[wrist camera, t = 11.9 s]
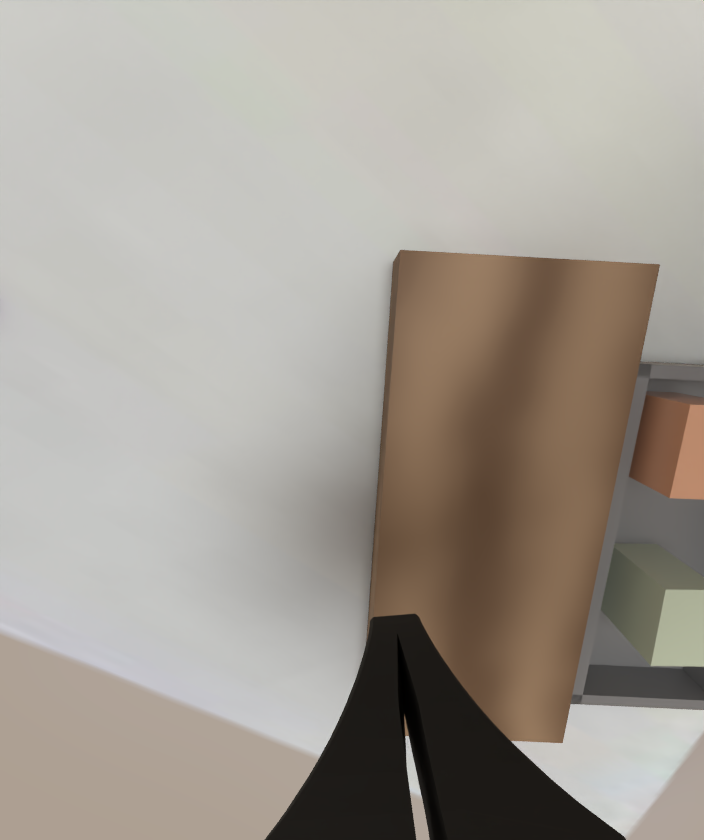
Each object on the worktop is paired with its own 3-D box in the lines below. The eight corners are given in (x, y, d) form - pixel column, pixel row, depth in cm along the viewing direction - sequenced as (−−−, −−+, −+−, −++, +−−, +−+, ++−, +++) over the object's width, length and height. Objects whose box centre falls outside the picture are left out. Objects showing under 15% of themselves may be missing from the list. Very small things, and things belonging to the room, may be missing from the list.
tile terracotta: (625, 390, 20) (675, 392, 20) (610, 467, 21) (659, 468, 21) (690, 404, 16) (752, 407, 16) (669, 498, 17) (728, 500, 17)
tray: (767, 368, 20) (824, 373, 18) (685, 672, 24) (722, 710, 22) (604, 359, 20) (638, 363, 18) (547, 665, 24) (569, 703, 22)
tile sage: (610, 543, 22) (656, 544, 22) (599, 608, 23) (644, 608, 23) (665, 589, 18) (722, 590, 18) (650, 666, 19) (704, 666, 19)
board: (613, 274, 19) (659, 264, 16) (537, 693, 25) (562, 743, 22) (393, 262, 19) (400, 250, 16) (363, 685, 24) (364, 733, 22)
